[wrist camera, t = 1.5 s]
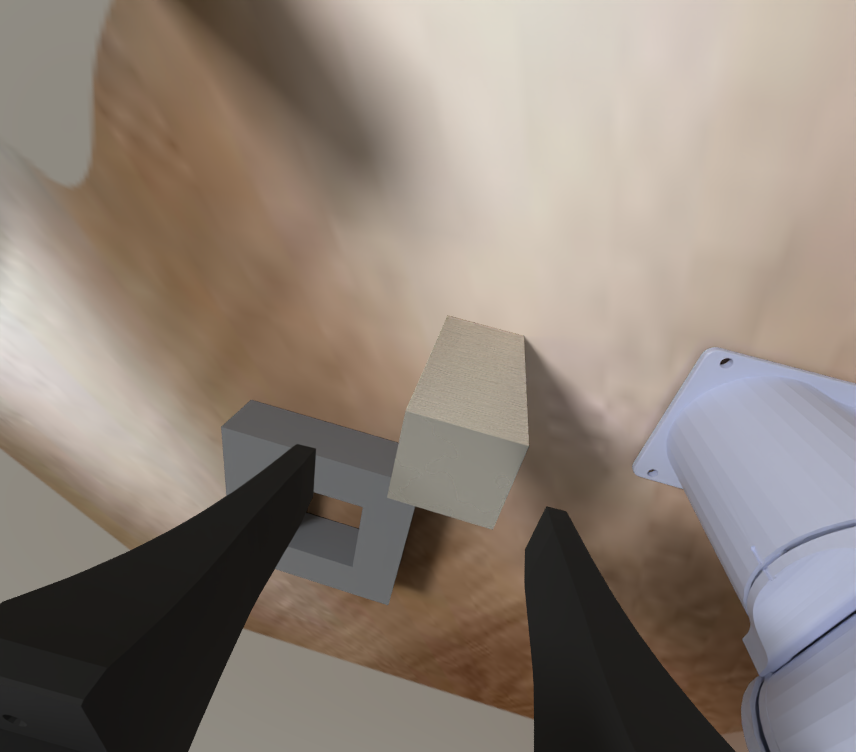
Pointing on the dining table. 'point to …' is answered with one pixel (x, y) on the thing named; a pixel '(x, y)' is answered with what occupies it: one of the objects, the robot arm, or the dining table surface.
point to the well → (334, 477)
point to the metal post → (465, 425)
